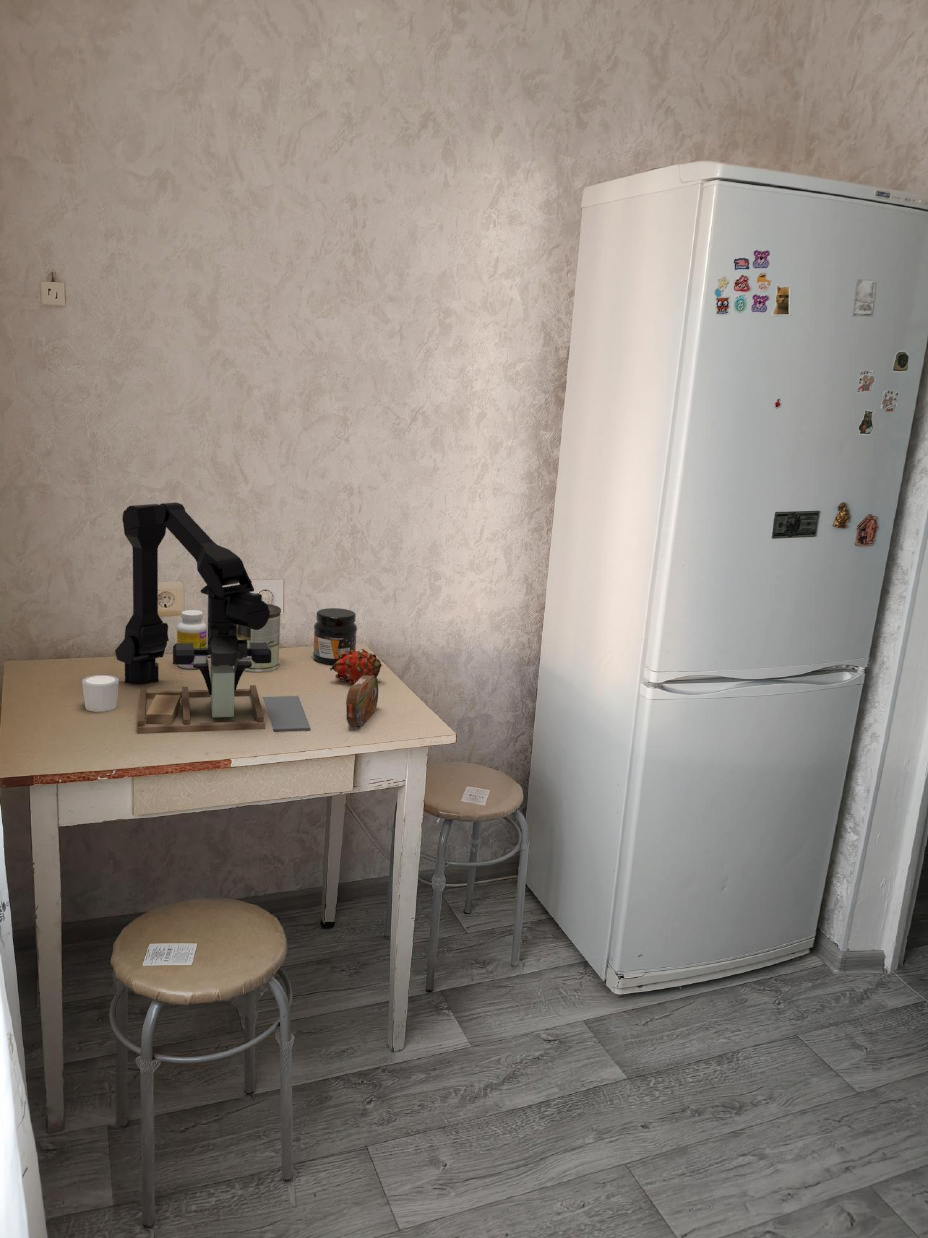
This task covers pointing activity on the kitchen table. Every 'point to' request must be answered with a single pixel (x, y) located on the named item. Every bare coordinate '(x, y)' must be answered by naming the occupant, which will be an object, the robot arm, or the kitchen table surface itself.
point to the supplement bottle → (192, 631)
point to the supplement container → (334, 634)
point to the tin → (362, 700)
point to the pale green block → (222, 690)
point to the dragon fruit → (356, 665)
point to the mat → (286, 713)
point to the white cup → (100, 692)
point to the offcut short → (163, 709)
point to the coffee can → (264, 639)
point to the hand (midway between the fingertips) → (221, 694)
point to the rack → (186, 725)
